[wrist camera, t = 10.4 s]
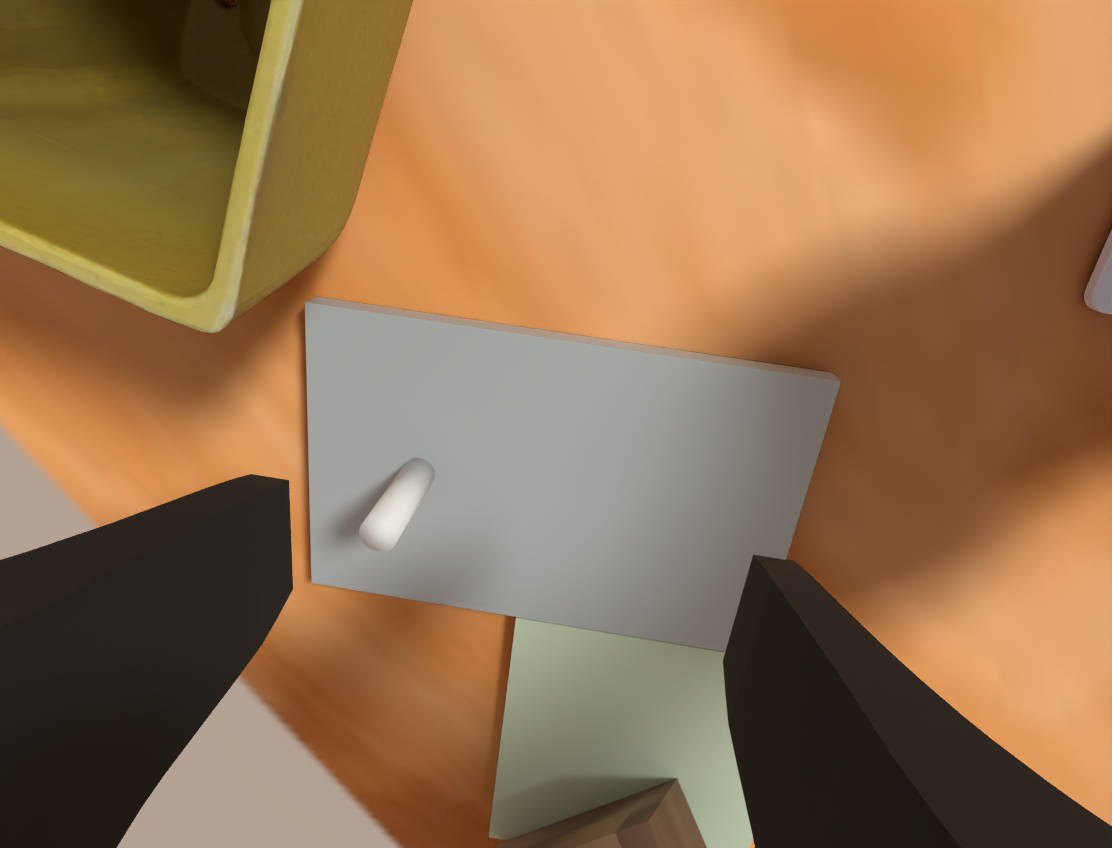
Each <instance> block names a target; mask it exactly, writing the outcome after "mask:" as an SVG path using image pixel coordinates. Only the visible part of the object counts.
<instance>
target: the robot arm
mask: <svg viewBox="0 0 1112 848" xmlns="http://www.w3.org/2000/svg"><path fill="white" fill-rule="evenodd" d="M1084 300H1085V304H1086V305H1087V306H1088V307H1089V308H1090V309H1093V310H1095V311H1098V312H1101V313H1105V314H1112V230H1111V232H1110V234H1109V237H1108V239H1107V241H1106V243H1105V246H1104V248H1103V250H1102V253H1101V255H1100V257H1099V259H1098V262H1097V264H1096V266H1095V269H1094V271H1093V273H1092V275H1091V278H1090V280H1089V282H1088V285H1087V287H1086V289H1085V294H1084ZM292 590H293V578H292V551H291V525H290V498H289V480H284V479H277V478H271V477H265V476H258V475H252V474H250V475H247V476H243V477H239V478H235V479H232V480H229V481H226V482H223V483H220V484H217V485H214V486H211V487H208V488H205V489H203V490H200V491H197V492H194V493H192V494H189V495H186V496H184V497H181V498H178V499H176V500H173V501H170V502H168V503H165V504H162V505H159V506H157V507H154V508H151V509H149V510H146V511H143V512H141V513H138V514H135V515H132V516H130V517H127V518H124V519H122V520H119V521H116V522H113V523H111V524H108V525H105V526H102V527H99V528H96V529H93V530H90V531H87V532H84V533H82V534H78V535H75V536H72V537H69V538H66V539H64V540H61V541H58V542H55V543H52V544H49V545H46V546H43V547H40V548H37V549H34V550H31V551H28V552H25V553H22V554H19V555H15V556H12V557H9V558H5V559H2V560H0V848H117V846H118V844H119V843H120V841H121V839H122V838H123V836H124V835H125V833H126V831H127V830H128V828H129V827H130V825H131V823H132V822H133V820H134V819H135V817H136V815H137V814H138V812H139V811H140V809H141V807H142V806H143V804H144V803H145V802H146V800H147V799H148V797H149V796H150V794H151V793H152V792H153V790H154V789H155V787H156V786H157V785H158V783H159V782H160V780H161V779H162V777H163V776H164V775H165V773H166V772H167V771H168V769H169V768H170V766H171V765H172V764H173V763H174V761H175V760H176V759H177V757H178V756H179V754H180V753H181V752H182V751H183V749H184V748H185V747H186V745H187V744H188V743H189V741H190V740H191V739H192V737H193V736H194V735H195V734H196V732H197V731H198V730H199V728H200V727H201V725H202V724H203V723H204V722H205V720H206V719H207V718H208V716H209V715H210V714H211V712H212V711H213V710H214V708H215V707H216V706H217V704H218V703H219V702H220V700H221V699H222V698H223V697H224V695H225V694H226V693H227V691H228V690H229V689H230V687H231V686H232V684H233V683H234V682H235V680H236V679H237V678H238V676H239V675H240V674H241V672H242V671H243V670H244V668H245V667H246V666H247V664H248V663H249V662H250V660H251V659H252V658H253V656H254V655H255V653H256V652H257V651H258V649H259V648H260V646H261V645H262V644H263V642H264V640H265V638H266V637H267V635H268V633H269V631H270V630H271V628H272V626H273V625H274V623H275V621H276V619H277V618H278V616H279V614H280V612H281V610H282V608H283V606H284V605H285V603H286V601H287V599H288V597H289V595H290V593H291V592H292ZM723 669H724V682H725V695H726V705H727V715H728V725H729V729H730V734H731V739H732V744H733V749H734V753H735V758H736V763H737V767H738V772H739V776H740V781H741V786H742V790H743V794H744V799H745V803H746V808H747V812H748V817H749V821H750V826H751V830H752V835H753V839H754V844H755V848H1112V826H1110V825H1109V824H1107V823H1106V822H1104V821H1103V820H1102V819H1100V818H1099V817H1097V816H1096V815H1094V814H1093V813H1091V812H1090V811H1088V810H1087V809H1085V808H1084V807H1082V806H1081V805H1080V804H1078V803H1077V802H1075V801H1074V800H1073V799H1071V798H1070V797H1068V796H1067V795H1066V794H1064V793H1063V792H1061V791H1060V790H1058V789H1057V788H1056V787H1054V786H1053V785H1051V784H1050V783H1049V782H1047V781H1046V780H1045V779H1043V778H1042V777H1041V776H1039V775H1038V774H1037V773H1035V772H1034V771H1033V770H1032V769H1030V768H1029V767H1028V766H1026V765H1025V764H1024V763H1022V762H1021V761H1020V760H1018V759H1017V758H1016V757H1014V756H1013V755H1012V754H1010V753H1009V752H1008V751H1006V750H1005V749H1004V748H1003V747H1001V746H1000V745H999V744H997V743H996V742H995V741H993V740H992V739H991V738H989V737H988V736H987V735H986V734H984V733H983V732H982V731H981V730H979V729H978V728H977V727H976V726H975V725H973V724H972V723H971V722H970V721H968V720H967V719H966V718H965V717H963V716H962V715H961V714H960V713H959V712H958V711H956V710H955V709H954V708H953V707H952V706H951V705H949V704H948V703H947V702H946V701H945V700H944V699H942V698H941V697H940V696H939V695H938V694H937V693H935V692H934V691H933V690H932V689H931V688H930V687H928V686H927V685H926V684H925V683H924V682H923V681H922V680H920V679H919V678H918V677H917V676H916V675H915V674H914V673H913V672H912V671H910V670H909V669H908V668H907V667H906V666H905V665H904V664H903V663H902V662H900V661H899V660H898V659H897V658H896V657H895V656H894V655H893V654H892V653H891V652H890V651H889V650H887V649H886V648H885V647H884V646H883V645H882V644H881V643H880V642H879V641H878V640H877V639H876V638H875V637H874V636H873V635H872V634H871V633H870V632H868V631H867V630H866V629H865V628H864V627H863V626H862V625H861V624H860V623H859V622H858V621H857V620H856V619H855V618H854V617H853V616H852V615H851V614H850V613H849V612H848V611H847V610H846V609H845V608H844V607H843V606H842V605H841V604H840V603H839V602H838V601H837V600H836V599H835V598H833V597H832V596H831V595H830V594H829V593H828V592H827V591H826V590H825V589H824V588H823V587H822V586H821V585H820V584H819V583H818V582H817V581H816V580H815V579H814V578H813V577H812V576H811V575H810V574H808V573H807V572H806V571H805V570H804V569H803V568H802V567H801V566H799V565H798V564H797V563H796V562H795V561H791V560H784V559H778V558H772V557H766V556H759V555H753V557H752V560H751V564H750V567H749V571H748V574H747V578H746V581H745V585H744V588H743V592H742V595H741V599H740V602H739V606H738V609H737V613H736V616H735V620H734V623H733V627H732V630H731V634H730V637H729V641H728V644H727V648H726V651H725V655H724V658H723Z"/></svg>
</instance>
